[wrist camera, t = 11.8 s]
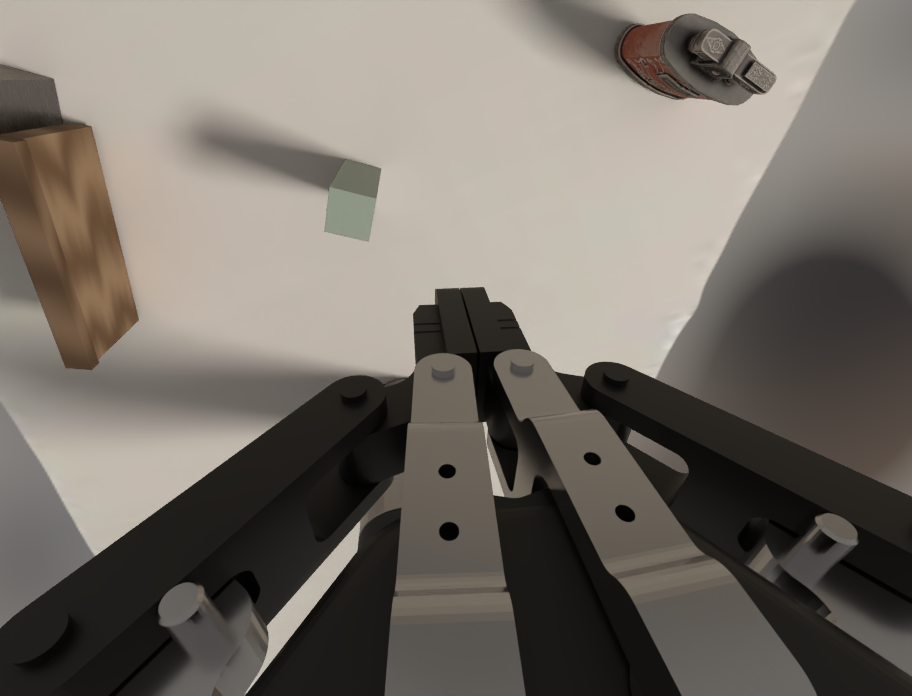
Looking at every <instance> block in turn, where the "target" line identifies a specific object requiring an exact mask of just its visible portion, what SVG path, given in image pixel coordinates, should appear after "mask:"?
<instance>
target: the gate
mask: <svg viewBox="0 0 912 696" xmlns="http://www.w3.org/2000/svg"><path fill="white" fill-rule="evenodd" d="M0 198H1V201H2V204H3V206H4V209H5V211H6V214H7V217H8V219H9V222H10V224H11V227H12V230H13V232H14V235H15V237H16V240H17V243H18V245H19V248H20V250H21V253H22V256H23V258H24V261H25V263H26V266H27V269H28V271H29V274H30V276H31V279H32V282H33V284H34V287H35V289H36V292H37V295H38V297H39V300H40V302H41V305H42V308H43V310H44V313H45V315H46V318H47V321H48V323H49V326H50V328H51V331H52V333H53V336H54V339H55V341H56V344H57V346H58V349H59V352H60V354H61V357H62V359H63V362H64V365H65V367H66V368H73V369H85V370H92V369H93V368H94V367H95V366H96V365H97V364H98V363H99V361H98V359H99V358H100V357H101V356H102V355H103V354H104V353H105V352H106V351H107V350H108V349H109V348H110V347H112V346H113V345H114V344H115V343H116V342H117V341H118V340H119V339H120V338H121V337H122V336H123V335H124V334H125V333H126V332H127V331H128V330H129V329H130V328H131V327H132V326H133V325H134V324H135V323H136V322H137V321H138V320H139V319H138V315H137V310H136V306H135V302H134V298H133V294H132V290H131V286H130V282H129V278H128V274H127V270H126V265H125V261H124V257H123V253H122V249H121V245H120V241H119V237H118V233H117V229H116V225H115V221H114V216H113V212H112V208H111V204H110V200H109V196H108V192H107V188H106V184H105V180H104V176H103V171H102V167H101V163H100V159H99V155H98V151H97V147H96V143H95V139H94V135H93V131H92V127H91V126H87V125H82V124H77V123H68V124H62V125H55V126H49V127H43V128H37V129H30V130H24V131H18V132H12V133H5V134H0Z"/></svg>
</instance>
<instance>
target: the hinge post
mask: <svg viewBox="0 0 912 696" xmlns="http://www.w3.org/2000/svg"><path fill="white" fill-rule="evenodd" d="M62 124H63V122H62V117H61V112H60V108H59V103H58V98H57V93H56V88H55V83H54V79H52V78H48V77H44V76H41V75H37V74H33V73H30V72H26V71H22V70H19V69H15V68H11V67H8V66H4V65H0V134H5V133H12V132H18V131H24V130H30V129H37V128H43V127H49V126H55V125H62Z"/></svg>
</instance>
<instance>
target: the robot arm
mask: <svg viewBox="0 0 912 696" xmlns="http://www.w3.org/2000/svg"><path fill="white" fill-rule="evenodd" d="M413 321H414V342H415V361H416V366H415V370H414V372H413V373H412V374H411V375H410V376H409V377H408V378H407V379H401V380H396V381H393V382H390V383H388V384H386V385H383V384H382V383H381V382H380V381H379V380H377V379H375V378H372V377H369V376H361V375H360V376H350V377H345V378H342V379H340V380H338V381H336V382H334V383H332V384H331V385H330V386H328V387H327V388H325V389H324V390H323V391H321V392H320V393H319V394H317V395H316V396H314V397H313V398H312V399H310V400H309V401H308V402H306V403H305V404H303V405H302V406H301V407H299V408H298V409H297V410H295V411H294V412H292V413H291V414H290V415H288V416H287V417H286V418H284V419H283V420H281V421H280V422H279V423H277V424H276V425H275V426H273V427H272V428H271V429H269V430H268V431H266V432H265V433H264V434H262V435H261V436H260V437H258V438H257V439H255V440H254V441H253V442H251V443H250V444H249V445H247V446H246V447H244V448H243V449H242V450H240V451H239V452H238V453H236V454H235V455H233V456H232V457H231V458H229V459H228V460H227V461H225V462H224V463H223V464H221V465H220V466H218V467H217V468H216V469H214V470H213V471H212V472H210V473H209V474H207V475H206V476H205V477H203V478H202V479H201V480H199V481H198V482H196V483H195V484H194V485H192V486H191V487H190V488H188V489H187V490H185V491H184V492H183V493H181V494H180V495H179V496H177V497H176V498H175V499H173V500H172V501H170V502H169V503H168V504H166V505H165V506H164V507H162V508H161V509H159V510H158V511H157V512H155V513H154V514H153V515H151V516H150V517H148V518H147V519H146V520H144V521H143V522H142V523H140V524H139V525H137V526H136V527H135V528H133V529H132V530H131V531H129V532H128V533H126V534H125V535H124V536H122V537H121V538H120V539H118V540H117V541H116V542H114V543H113V544H111V545H110V546H109V547H107V548H106V549H105V550H103V551H102V552H100V553H99V554H98V555H96V556H95V557H94V558H92V559H91V560H90V561H88V562H87V563H85V564H84V565H83V566H81V567H80V568H78V569H77V570H76V571H74V572H73V573H72V574H70V575H69V576H68V577H66V578H65V579H63V580H62V581H61V582H59V583H58V584H57V585H55V586H54V587H52V588H51V589H50V590H49V591H47V592H46V593H45V594H43V595H41V596H40V597H39V598H38V599H36V600H35V601H33V602H32V603H30V604H29V605H28V606H26V607H25V608H24V609H22V610H21V611H20V612H19V613H17V614H16V615H15V616H13V617H12V618H11V619H10V620H9V621H8V622H7V623H6V624H5V625H4V626H2V627H1V628H0V696H244V694H245V692H246V691H247V689H248V688H249V686H250V685H251V683H252V682H253V680H254V679H255V677H256V676H257V674H258V672H259V671H260V669H261V667H262V665H263V662H264V660H265V657H266V653H267V649H268V640H269V639H268V630H267V627H266V626H267V625H268V624H269V623H270V622H271V620H272V619H273V618H274V617H275V616H276V615H277V614H278V612H279V611H280V610H281V609H282V608H283V607H284V606H285V605H286V603H287V602H288V601H289V600H290V599H291V598H292V597H293V596H294V594H295V593H296V592H297V591H298V590H299V589H300V588H301V586H302V585H303V584H304V583H305V582H306V581H307V580H308V579H309V577H310V576H311V575H312V574H313V573H314V572H315V571H316V569H317V568H318V567H319V566H320V565H321V564H322V563H323V562H324V560H325V559H326V558H327V557H328V556H329V555H330V554H331V553H332V551H333V550H334V549H335V548H336V547H337V546H338V545H339V543H340V542H341V541H342V540H343V539H344V538H345V537H346V536H347V534H348V533H349V532H350V531H351V530H352V529H353V528H354V527H355V525H356V524H357V523H358V522H359V521H360V520H361V521H360V533H359V542H358V551H357V553H356V554H355V555H354V556H353V558H352V559H351V560H350V562H349V563H348V564H347V565H346V567H345V568H344V569H343V571H342V572H341V573H340V574H339V576H338V577H337V578H336V580H335V581H334V582H333V583H332V585H331V586H330V587H329V589H328V590H327V591H326V592H325V594H324V595H323V596H322V598H321V599H320V600H319V601H318V603H317V604H316V605H315V607H314V608H313V609H312V610H311V612H310V613H309V614H308V616H307V617H306V618H305V619H304V621H303V622H302V623H301V625H300V626H299V627H298V628H297V630H296V631H295V632H294V634H293V635H292V636H291V637H290V639H289V640H288V641H287V643H286V644H285V645H284V646H283V648H282V649H281V650H280V652H279V653H278V654H277V655H276V657H275V658H274V659H273V661H272V662H271V663H270V664H269V666H268V667H267V668H266V670H265V671H264V672H263V673H262V675H261V676H260V677H259V679H258V680H257V681H256V682H255V684H254V685H253V686H252V688H251V689H250V690H249V691H248V693H247V694H246V695H245V696H912V497H911V496H909V495H907V494H905V493H902V492H900V491H898V490H896V489H894V488H891V487H889V486H887V485H885V484H882V483H881V482H878V481H876V480H874V479H872V478H870V477H868V476H865V475H863V474H861V473H859V472H856V471H854V470H852V469H850V468H848V467H845V466H844V465H841V464H839V463H837V462H835V461H833V460H830V459H828V458H826V457H824V456H822V455H820V454H817V453H815V452H813V451H811V450H809V449H806V448H804V447H802V446H800V445H798V444H796V443H793V442H791V441H789V440H787V439H784V438H782V437H780V436H778V435H776V434H774V433H771V432H769V431H767V430H765V429H763V428H761V427H759V426H756V425H754V424H752V423H750V422H748V421H745V420H743V419H741V418H739V417H737V416H735V415H732V414H730V413H728V412H726V411H724V410H721V409H719V408H717V407H715V406H713V405H710V404H708V403H706V402H704V401H702V400H700V399H697V398H695V397H693V396H691V395H689V394H686V393H684V392H682V391H680V390H678V389H676V388H673V387H671V386H669V385H667V384H665V383H663V382H660V381H658V380H656V379H654V378H652V377H649V376H647V375H645V374H643V373H641V372H639V371H636V370H634V369H632V368H630V367H627V366H625V365H622V364H619V363H614V362H598V363H594V364H592V365H590V366H589V367H588V368H587V369H586V371H585V375H584V377H582V376H575V375H569V374H563V373H558V372H555V371H554V370H553V369H552V367H551V365H550V364H549V362H548V361H547V360H546V359H545V358H544V357H543V356H541V355H539V354H537V353H535V352H532V351H531V350H530V347H529V345H528V343H527V341H526V339H525V337H524V335H523V333H522V331H521V329H520V328H519V325H518V322H517V321H516V318H515V316H514V314H513V312H512V310H511V309H510V308H508V307H507V306H506V305H504V304H503V303H502V302H490V301H489V298H488V296H487V293H486V291H485V289H484V287H475V288H460V290H459V288H449V289H435V305H419V307H418V308H417V309H416V311H415V312H414V314H413ZM483 422H487V426H488V434H487V446H488V449H489V452H490V455H491V458H492V461H493V464H494V466H495V469H496V472H497V475H498V478H499V481H500V484H501V487H502V490H503V493H504V496H505V497H501V496H494V495H493V490H492V483H491V476H490V469H489V461H488V454H487V447H486V440H485V433H484V426H483ZM631 429H632V430H635V431H636V432H638V433H640V434H642V435H643V436H645V437H647V438H649V439H651V440H653V441H654V442H656V443H658V444H660V445H662V446H663V447H665V448H667V449H669V450H671V451H673V452H674V453H676V454H678V455H679V456H680V457H682V458H683V459H684V461H685V462H686V463H687V465H688V468H689V473H686V474H685V473H680V472H677V471H675V470H673V469H672V468H670V467H668V466H666V465H665V464H663V463H661V462H659V461H658V460H656V459H654V458H652V457H651V456H649V455H647V454H646V453H643V452H642V451H640V450H639V449H637V448H635V447H633V446H632V445H630V444H628V443H627V440H628V437H629V434H630V432H631Z"/></svg>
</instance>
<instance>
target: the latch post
mask: <svg viewBox="0 0 912 696" xmlns="http://www.w3.org/2000/svg"><path fill="white" fill-rule="evenodd" d="M380 173H381V169H380V168H376V167H373V166H369V165H365V164H362V163H358V162H354V161H351V160H347V159H345V161H344V163H343V164H342V166H341V168H340V170H339V171H338V173H337V175H336V176H335V178H334V180H333V182H332V183H331V185H330V187H329V195H328V204H327V213H326V222H325V231H324V232H328V233H332V234H337V235H341V236H346V237H350V238H354V239H359V240H363V241H368V242H369V238H370V232H371V226H372V221H373V215H374V209H375V203H376V197H377V191H378V185H379V179H380Z"/></svg>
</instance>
